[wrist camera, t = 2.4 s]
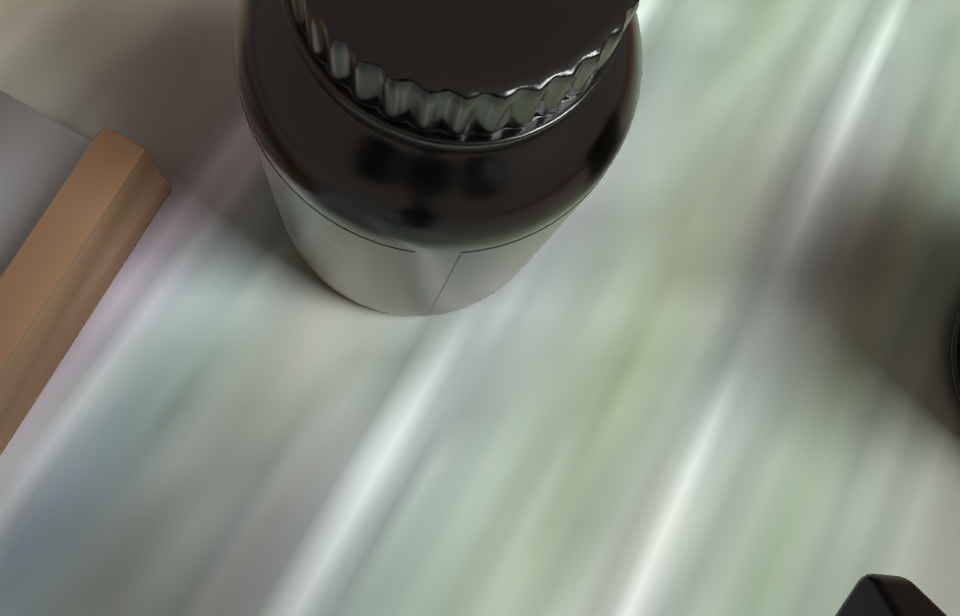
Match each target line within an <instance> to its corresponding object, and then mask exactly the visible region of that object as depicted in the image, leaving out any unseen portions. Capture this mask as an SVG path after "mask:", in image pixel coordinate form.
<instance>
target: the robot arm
mask: <svg viewBox="0 0 960 616" xmlns="http://www.w3.org/2000/svg"><path fill="white" fill-rule="evenodd" d="M835 616H947V615H945V614H944V613H943V612H942V611H941V610H940V609H939V608H938V607H937V606H936V605H935V604H934V603H933V602H932V601H931V600H930V599H929V598H928V597H927V596H926V595H925V594H924V593H923V592H922V591H921V590H920V589H919V588H918V587H916V586H915V585H914V584H913V583H912V582H911V581H909V580H907V579H905V578H903V577H899V576H891V575H881V574H867V575H865V576H863V577H862V578H861V579H860V580H859V581H858V582H857V584H856V585H855V587H854V588H853V590H852V591H851V593H850V594H849V596H848V597H847V599H846V600H845V602H844V603H843V605H842V606H841V608H840V609H839V611H838V612H837V614H836V615H835Z"/></svg>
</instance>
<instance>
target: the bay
mask: <svg viewBox="0 0 960 616" xmlns="http://www.w3.org/2000/svg"><path fill="white" fill-rule="evenodd" d="M171 190H172V188H171V187H170V185H169V184H168V182H167V181H166V179H165V178H164V176H163V175H162V173H161V172H160V170H159V169H158V167H157V166H156V164H155V163H154V161H153V160H152V158H151V157H150V155H149V154H148V152H147V151H146V149H144V148H142V147H141V146H139V145H137V144H135V143H133V142H132V141H130V140H128V139H126V138H124V137H123V136H121V135H119V134H117V133H115V132H114V131H112V130H110V129H108V128H106V127H105V126H103V127H102V128H101V130H100V131H99V133H98V134H97V135H96V137H95V138H94V140H93V141H90V140H88V139H86V138H85V137H83V136H81V135H79V134H77V133H76V132H74V131H72V130H70V129H68V128H67V127H65V126H63V125H61V124H59V123H58V122H56V121H54V120H52V119H50V118H49V117H47V116H45V115H43V114H41V113H40V112H38V111H36V110H34V109H32V108H31V107H29V106H27V105H25V104H23V103H22V102H20V101H18V100H16V99H14V98H13V97H11V96H9V95H7V94H5V93H4V92H2V91H0V455H1V453H2V452H3V450H4V449H5V447H6V445H7V444H8V442H9V441H10V439H11V438H12V436H13V435H14V433H15V431H16V430H17V428H18V427H19V425H20V424H21V422H22V421H23V419H24V418H25V416H26V414H27V413H28V411H29V410H30V408H31V407H32V405H33V404H34V402H35V400H36V399H37V397H38V396H39V394H40V393H41V391H42V390H43V388H44V386H45V385H46V383H47V382H48V380H49V379H50V377H51V376H52V374H53V373H54V371H55V369H56V368H57V366H58V365H59V363H60V362H61V360H62V359H63V357H64V355H65V354H66V352H67V351H68V349H69V348H70V346H71V345H72V343H73V342H74V340H75V338H76V337H77V335H78V334H79V332H80V331H81V329H82V328H83V326H84V324H85V323H86V321H87V320H88V318H89V317H90V315H91V314H92V312H93V311H94V309H95V307H96V306H97V304H98V303H99V301H100V300H101V298H102V297H103V295H104V293H105V292H106V290H107V289H108V287H109V286H110V284H111V283H112V281H113V279H114V278H115V276H116V275H117V273H118V272H119V270H120V269H121V267H122V266H123V264H124V262H125V261H126V259H127V258H128V256H129V255H130V253H131V252H132V250H133V248H134V247H135V245H136V244H137V242H138V241H139V239H140V238H141V236H142V235H143V233H144V231H145V230H146V228H147V227H148V225H149V224H150V222H151V221H152V219H153V217H154V216H155V214H156V213H157V211H158V210H159V208H160V207H161V205H162V203H163V202H164V200H165V199H166V197H167V196H168V194H169V193H170V191H171Z"/></svg>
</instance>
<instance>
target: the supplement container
mask: <svg viewBox="0 0 960 616" xmlns="http://www.w3.org/2000/svg"><path fill="white" fill-rule="evenodd" d="M951 367H952V375H953V380H954V385H955V389H956V392H957V395H958V399H959V401H960V310H959V312H958V315H957V318H956V322H955V325H954V329H953V335H952V342H951Z"/></svg>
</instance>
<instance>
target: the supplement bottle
mask: <svg viewBox="0 0 960 616" xmlns="http://www.w3.org/2000/svg"><path fill="white" fill-rule="evenodd" d="M638 5H639V0H239V1H238V5H237V10H236V15H235V24H234V62H235V71H236V78H237V82H238V87H239V92H240V97H241V102H242V105H243V108H244V111H245V114H246V118H247V121H248V124H249V127H250V130H251V133H252V135H253V138H254V141H255V144H256V147H257V150H258V153H259V156H260V159H261V162H262V165H263V167H264V170H265V173H266V176H267V179H268V182H269V185H270V188H271V191H272V193H273V196H274V199H275V202H276V205H277V208H278V211H279V214H280V217H281V219H282V221H283V224H284V226H285V228H286V230H287V233H288V235H289V237H290V239H291V241H292V243H293V244H294V246H295V248H296V250H297V251H298V253H299V254H300V255H301V257H302V258H303V260H304V261H305V262H306V263H307V265H308V266H309V267H310V268H311V269H312V270H313V271H314V273H315V274H316V275H318V276H319V277H320V278H321V279H322V280H323V281H324V282H325V283H326V284H328V285H329V286H330V287H331V288H333V289H334V290H335V291H337V292H338V293H340V294H342V295H343V296H345V297H346V298H348V299H350V300H352V301H354V302H356V303H358V304H360V305H363V306H366V307H368V308H371V309H374V310H377V311H381V312H385V313H390V314H395V315H404V316H430V315H438V314H443V313H448V312H453V311H456V310H459V309H462V308H465V307H467V306H470V305H472V304H474V303H477V302H479V301H480V300H482V299H484V298H486V297H488V296H489V295H491V294H493V293H494V292H495V291H497V290H498V289H500V288H501V287H502V286H504V285H505V284H506V283H507V282H508V281H509V280H510V279H512V278H513V277H514V276H515V275H516V274H517V273H518V272H519V271H520V270H521V269H522V268H523V267H524V266H525V264H526V263H527V262H528V261H529V260H530V259H531V258H532V257H533V256H534V255H535V253H536V252H537V251H538V250H539V249H540V248H541V247H542V246H543V245H544V243H545V242H546V241H547V240H548V239H549V238H550V237H551V236H552V235H553V233H554V232H555V231H556V230H557V229H558V228H559V227H560V226H561V225H562V223H563V222H564V221H565V220H566V219H567V218H568V217H569V216H570V214H571V213H572V212H573V211H574V210H575V209H576V208H577V207H578V206H579V204H580V203H581V202H582V201H583V200H584V199H585V198H586V197H587V195H588V194H589V193H590V192H591V191H592V190H593V189H594V187H595V186H596V185H597V183H598V182H599V181H600V180H601V178H602V177H603V176H604V174H605V173H606V171H607V170H608V168H609V167H610V165H611V163H612V162H613V160H614V159H615V157H616V155H617V154H618V152H619V150H620V149H621V147H622V145H623V142H624V140H625V138H626V136H627V134H628V132H629V129H630V126H631V123H632V121H633V118H634V115H635V111H636V107H637V103H638V98H639V93H640V86H641V78H642V43H641V34H640V28H639V22H638V17H637V13H636V10H637V8H638Z"/></svg>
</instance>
